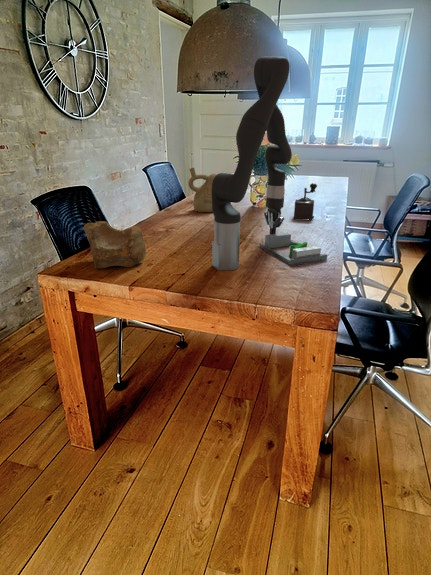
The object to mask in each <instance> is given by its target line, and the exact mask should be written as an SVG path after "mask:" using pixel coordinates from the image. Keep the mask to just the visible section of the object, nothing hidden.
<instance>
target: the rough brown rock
mask: <svg viewBox="0 0 431 575" xmlns="http://www.w3.org/2000/svg"><path fill="white" fill-rule="evenodd" d="M83 231H84V233H85V234H86V238H87V240H88V243H89V247H90V251H91V258H92V260H93V264H94V269H96V270H97V269H98V270H99V269H105V268H108V267H109V268H110V267H114V266H115V267H116V266H117V267H118V266H119V267H124V268H125V267H126V268H132V267H135V265H138V264H140V263H141V262H142V261H144V260H145V258H146V256H147V251H146V250H147V249H146V243H145V242H144V237H143V236H144V235H143V230H142V228H141V227H139V226H131V227H130V228H128V229H125V230H121V229H117V228H114V227H112V225H110V224H109V223H108V222H107V221H101V220H100V221H95V222H87V223H85V224H84V225H83Z"/></svg>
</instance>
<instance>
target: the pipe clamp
mask: <svg viewBox="0 0 431 575" xmlns="http://www.w3.org/2000/svg"><path fill="white" fill-rule="evenodd" d="M289 247H290V248H289V257H292V249H297V248H305V247H308V242H307V241H303V243H300V242H297V243H295V245H290V246H289Z"/></svg>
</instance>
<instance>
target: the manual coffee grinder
mask: <svg viewBox="0 0 431 575" xmlns="http://www.w3.org/2000/svg"><path fill="white" fill-rule="evenodd" d="M317 187H318V185H317V183H310V184H309V188H310V191H308V190H307V187H304V191H303V192H304V195H303V197H302V198H299V199H295V202H294V212H293V220H295V219H309V220H308V221H311V220H312V219H313V220H314V218H315V216H314V209H315V208H314V206H315V200H314V199H312V198H310V197H307V194H313V193H315V192H316V189H317ZM313 220H312V221H313Z"/></svg>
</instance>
